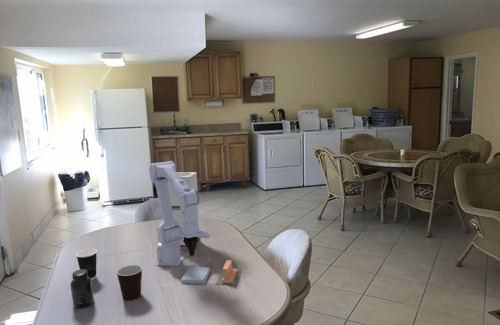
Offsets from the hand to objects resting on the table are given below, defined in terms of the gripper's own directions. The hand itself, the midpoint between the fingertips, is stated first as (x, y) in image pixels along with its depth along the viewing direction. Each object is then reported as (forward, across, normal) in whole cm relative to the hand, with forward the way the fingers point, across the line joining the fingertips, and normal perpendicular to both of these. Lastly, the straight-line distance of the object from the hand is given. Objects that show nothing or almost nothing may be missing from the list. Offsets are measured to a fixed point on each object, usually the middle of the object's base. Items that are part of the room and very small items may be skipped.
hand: (192, 255), depth 149 cm
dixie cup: (+10, -43, -2) cm, 44 cm away
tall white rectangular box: (+10, -14, +35) cm, 39 cm away
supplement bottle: (+10, -34, -21) cm, 41 cm away
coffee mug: (+10, -19, -13) cm, 25 cm away
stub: (+10, +14, +2) cm, 17 cm away
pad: (+10, +14, +2) cm, 17 cm away
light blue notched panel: (+10, 0, +2) cm, 10 cm away
